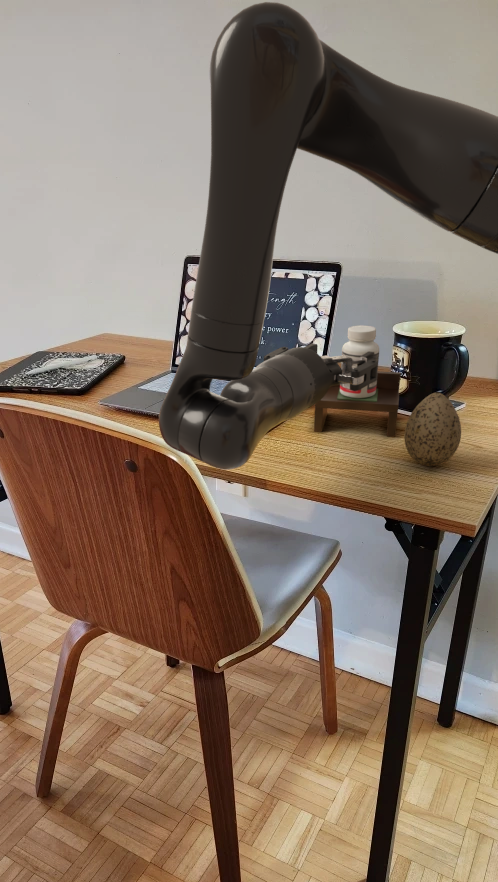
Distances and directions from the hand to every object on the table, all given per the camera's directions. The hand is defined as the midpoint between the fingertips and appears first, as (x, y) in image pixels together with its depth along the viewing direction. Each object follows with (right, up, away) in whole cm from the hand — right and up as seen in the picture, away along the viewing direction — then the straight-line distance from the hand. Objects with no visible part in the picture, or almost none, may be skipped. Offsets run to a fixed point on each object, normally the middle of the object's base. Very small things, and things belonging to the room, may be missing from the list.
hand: (342, 354), depth 95 cm
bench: (+4, -9, +11) cm, 15 cm away
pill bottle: (+4, -4, +8) cm, 10 cm away
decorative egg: (+11, -15, -2) cm, 19 cm away
